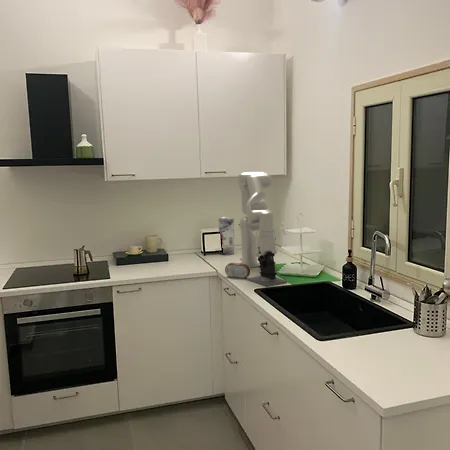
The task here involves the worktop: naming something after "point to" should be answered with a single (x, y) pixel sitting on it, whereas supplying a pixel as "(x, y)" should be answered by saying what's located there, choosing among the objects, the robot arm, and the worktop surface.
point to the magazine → (268, 266)
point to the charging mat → (266, 281)
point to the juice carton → (227, 235)
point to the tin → (237, 270)
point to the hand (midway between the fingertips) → (266, 266)
